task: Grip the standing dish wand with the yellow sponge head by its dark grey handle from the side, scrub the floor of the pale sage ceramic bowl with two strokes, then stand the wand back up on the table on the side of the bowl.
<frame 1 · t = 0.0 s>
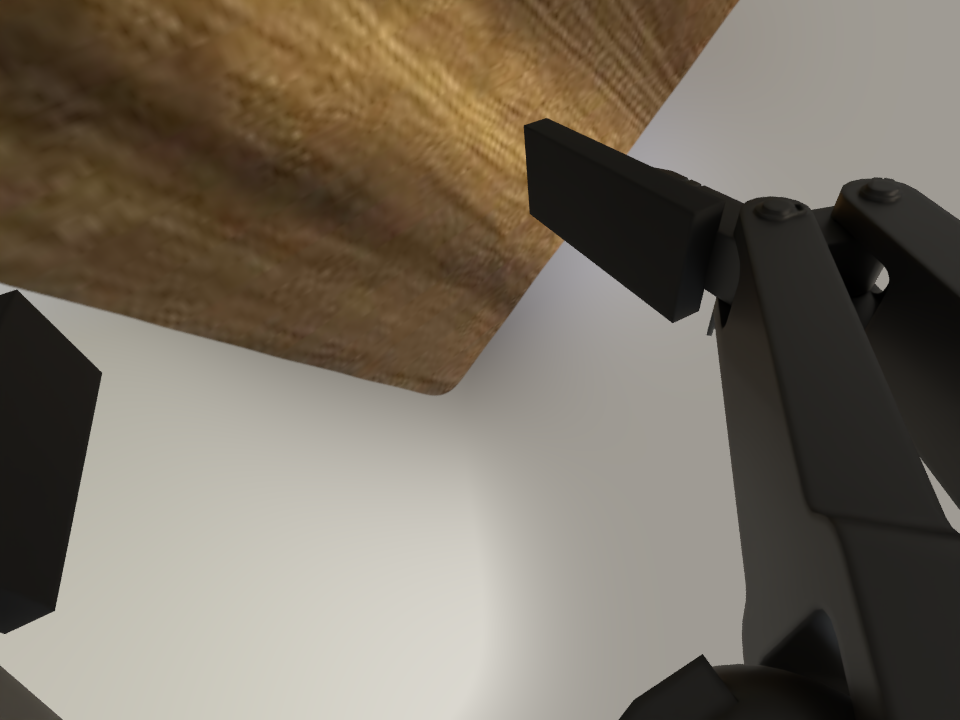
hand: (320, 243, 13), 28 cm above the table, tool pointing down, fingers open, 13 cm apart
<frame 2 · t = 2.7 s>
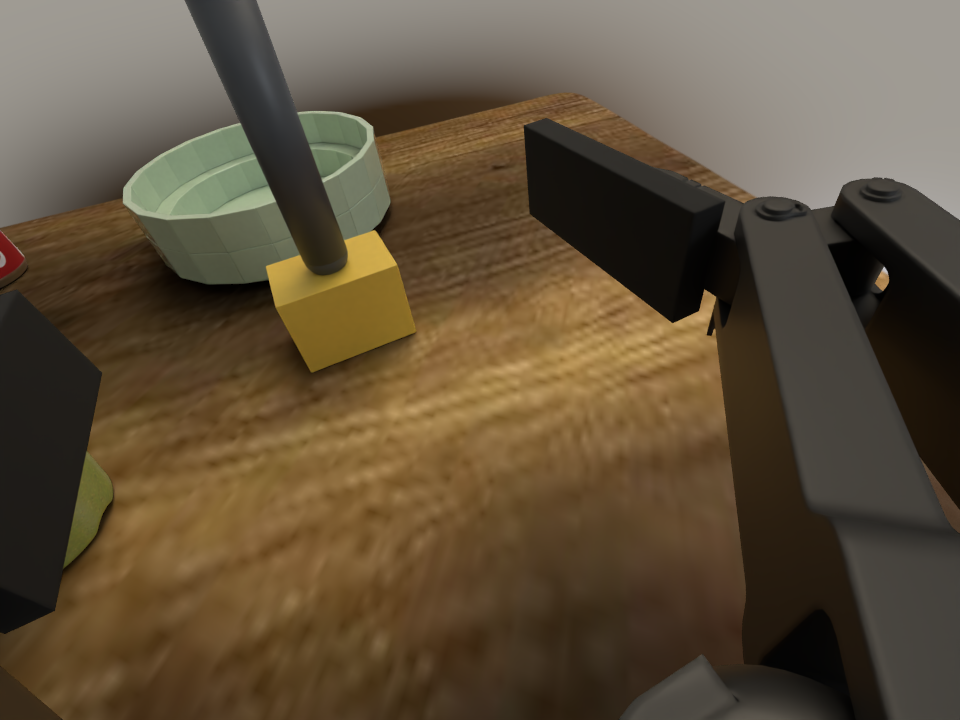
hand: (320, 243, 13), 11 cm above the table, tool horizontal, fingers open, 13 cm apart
dish wand: (356, 331, 27), on the table
bowl: (285, 226, 37), on the table
plant pot: (44, 530, 20), on the table
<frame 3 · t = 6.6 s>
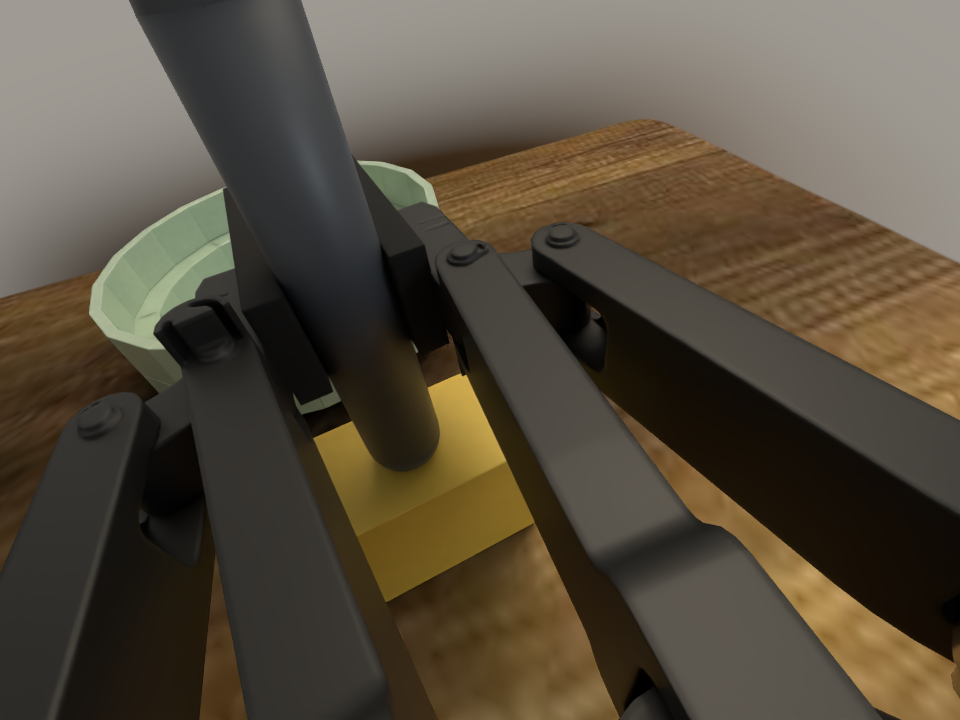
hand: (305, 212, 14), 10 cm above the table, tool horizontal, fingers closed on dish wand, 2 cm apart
dish wand: (437, 516, 18), on the table, touching gripper
bowl: (313, 315, 28), on the table
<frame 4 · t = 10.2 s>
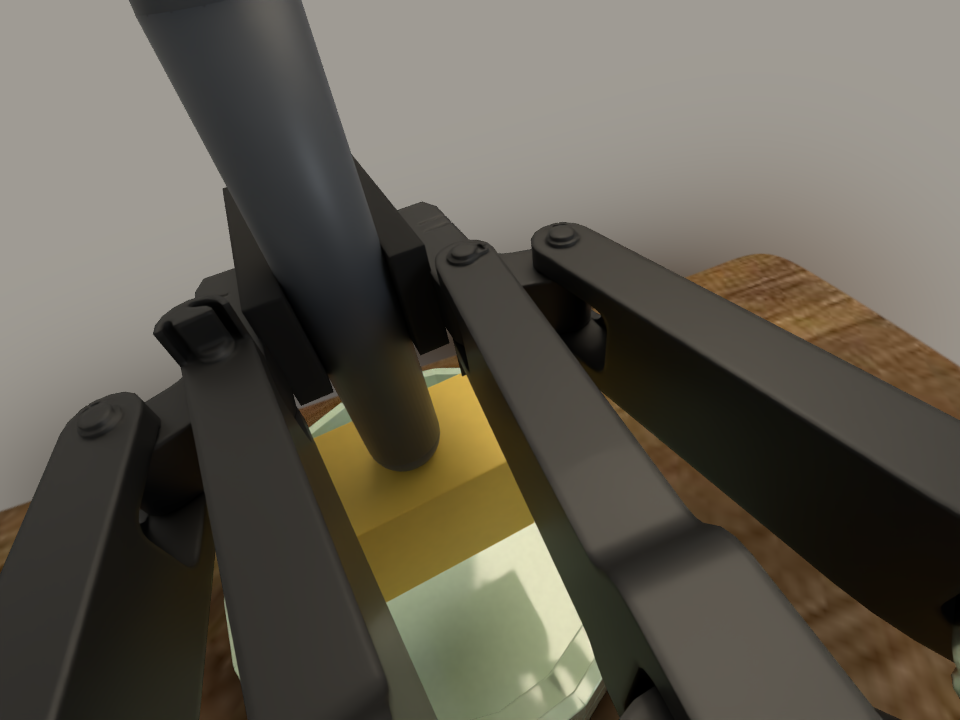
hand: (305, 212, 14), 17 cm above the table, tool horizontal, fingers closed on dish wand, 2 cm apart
dish wand: (438, 516, 18), point 7 cm above the table, touching gripper
bowl: (453, 565, 24), on the table
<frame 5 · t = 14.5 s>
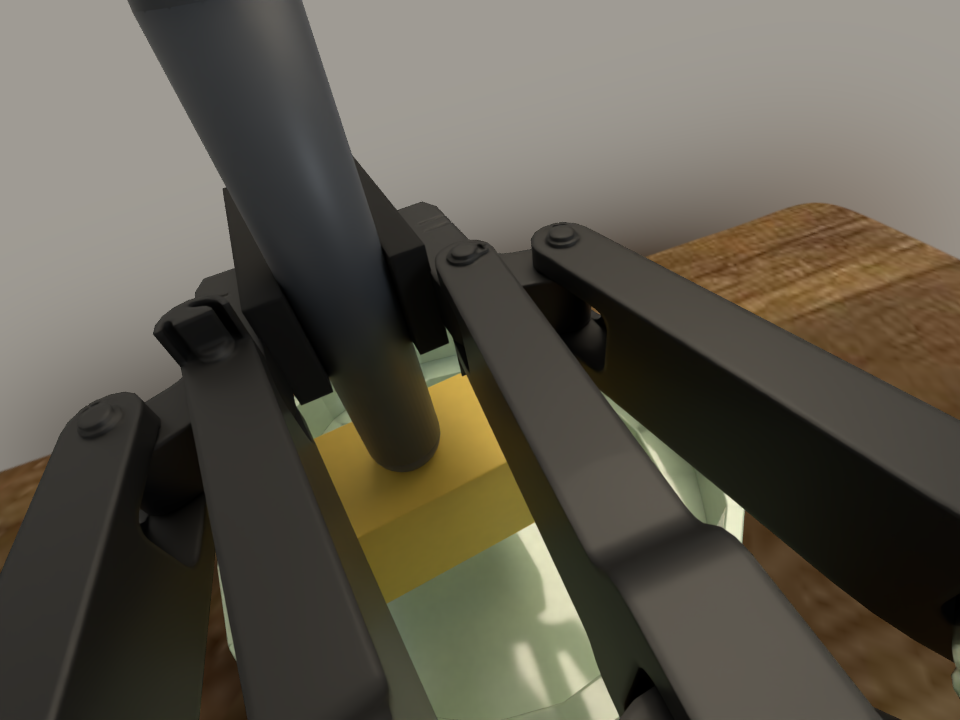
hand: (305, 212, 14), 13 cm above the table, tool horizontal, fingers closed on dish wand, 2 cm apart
dish wand: (438, 516, 17), point 3 cm above the table, touching gripper
bowl: (488, 533, 20), on the table
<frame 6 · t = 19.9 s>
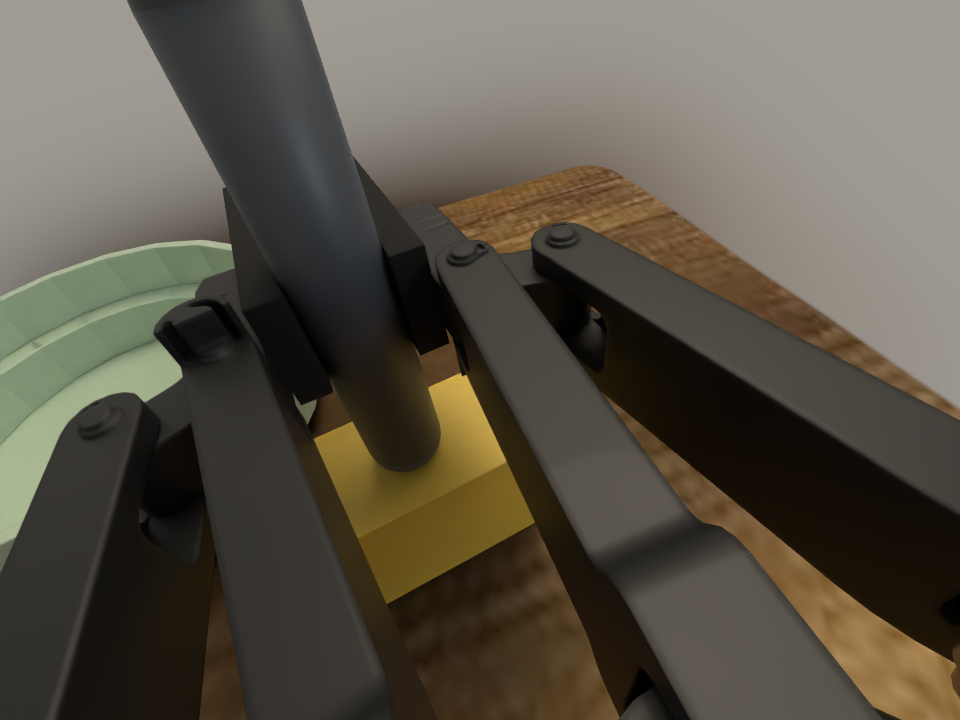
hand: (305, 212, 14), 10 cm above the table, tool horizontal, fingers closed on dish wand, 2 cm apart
dish wand: (438, 516, 17), on the table, touching gripper
bowl: (147, 438, 22), on the table
when the fingers open (10 cm above the table, at t = 19.9 s): dish wand stays where it is, on the table.
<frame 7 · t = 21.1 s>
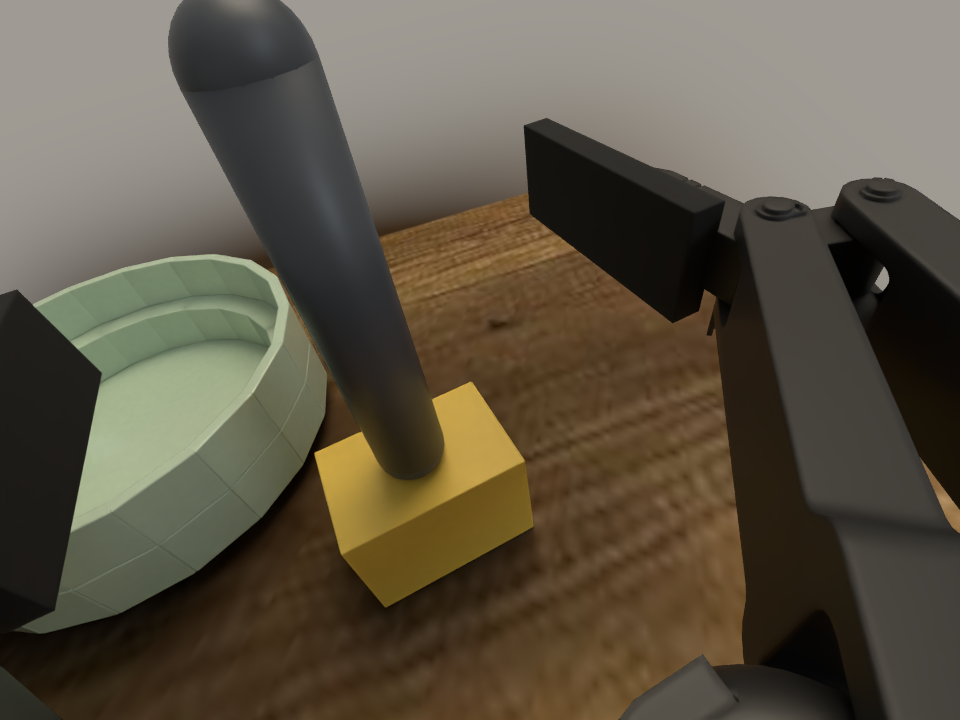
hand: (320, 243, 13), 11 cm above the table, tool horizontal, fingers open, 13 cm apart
dish wand: (441, 520, 18), on the table
bowl: (163, 445, 23), on the table
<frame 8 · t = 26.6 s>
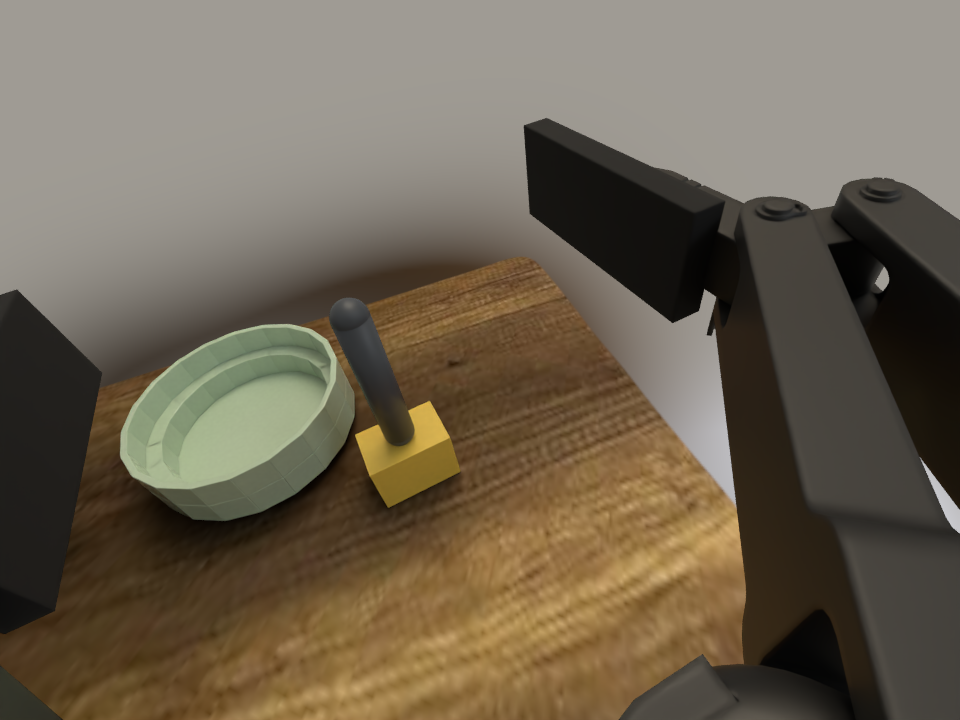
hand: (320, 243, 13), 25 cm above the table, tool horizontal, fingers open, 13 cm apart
dish wand: (416, 469, 37), on the table
bowl: (263, 434, 42), on the table
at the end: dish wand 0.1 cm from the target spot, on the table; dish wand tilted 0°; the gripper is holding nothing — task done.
